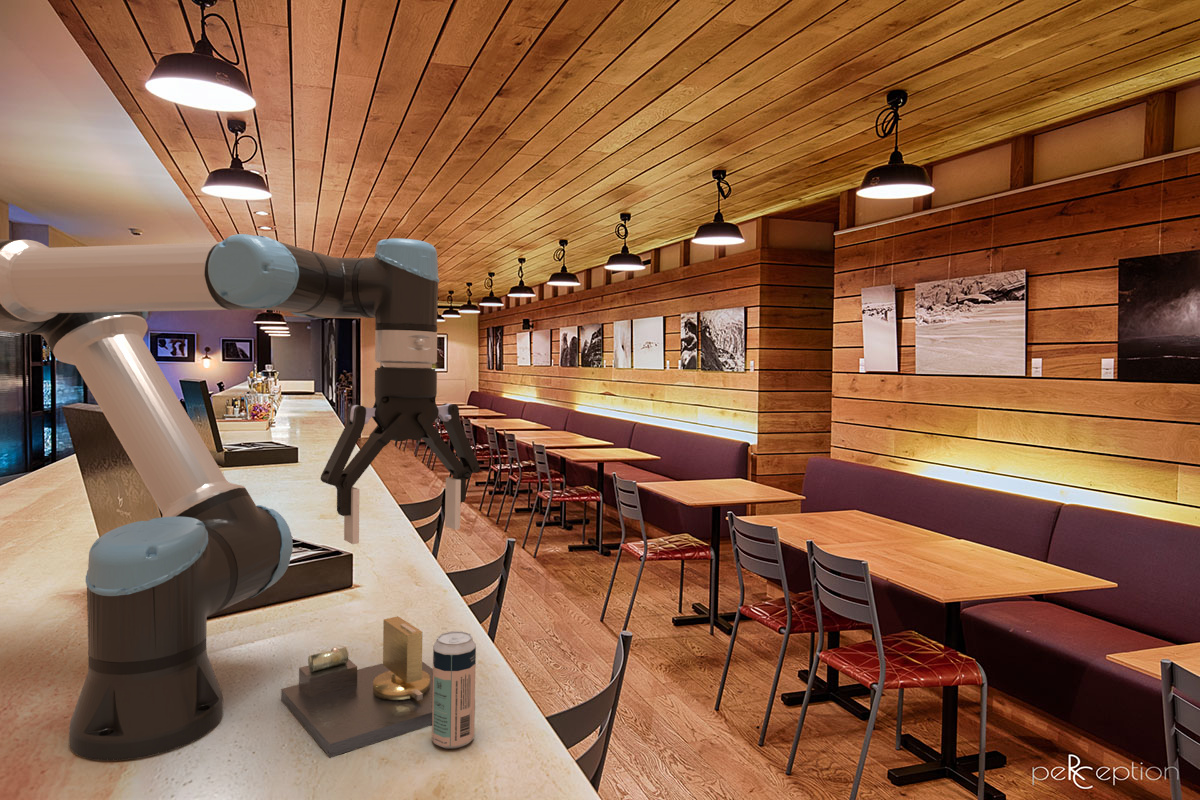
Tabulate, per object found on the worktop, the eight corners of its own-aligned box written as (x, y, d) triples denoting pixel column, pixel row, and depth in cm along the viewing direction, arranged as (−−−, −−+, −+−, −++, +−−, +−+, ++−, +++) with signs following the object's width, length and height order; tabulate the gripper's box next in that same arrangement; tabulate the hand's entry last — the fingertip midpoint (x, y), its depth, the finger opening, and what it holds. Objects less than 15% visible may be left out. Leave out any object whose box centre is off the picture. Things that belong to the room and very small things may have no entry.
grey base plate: (329, 757, 79) (330, 701, 79) (281, 700, 92) (281, 651, 92) (474, 710, 91) (475, 661, 91) (413, 665, 104) (414, 622, 104)
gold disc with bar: (392, 710, 87) (393, 642, 87) (364, 685, 94) (364, 621, 93) (445, 694, 92) (446, 629, 91) (414, 671, 98) (415, 611, 98)
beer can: (476, 730, 86) (478, 630, 86) (471, 752, 81) (473, 645, 81) (435, 730, 86) (437, 629, 85) (427, 751, 81) (429, 645, 81)
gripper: (315, 364, 81) (314, 555, 82) (507, 368, 97) (504, 527, 98) (293, 363, 86) (292, 541, 87) (477, 367, 102) (475, 517, 103)
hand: (404, 534), depth 92 cm, fingers open, 13 cm apart
